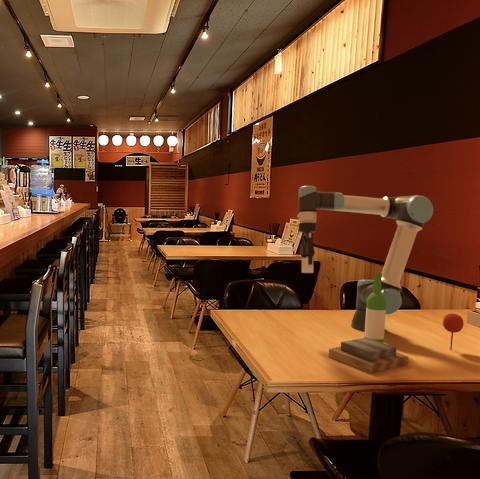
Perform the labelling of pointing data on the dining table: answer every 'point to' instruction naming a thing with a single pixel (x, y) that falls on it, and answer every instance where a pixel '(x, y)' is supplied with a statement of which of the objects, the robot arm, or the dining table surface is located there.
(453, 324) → the lollipop
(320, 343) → the dining table surface
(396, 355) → the plinth
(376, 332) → the wine bottle
